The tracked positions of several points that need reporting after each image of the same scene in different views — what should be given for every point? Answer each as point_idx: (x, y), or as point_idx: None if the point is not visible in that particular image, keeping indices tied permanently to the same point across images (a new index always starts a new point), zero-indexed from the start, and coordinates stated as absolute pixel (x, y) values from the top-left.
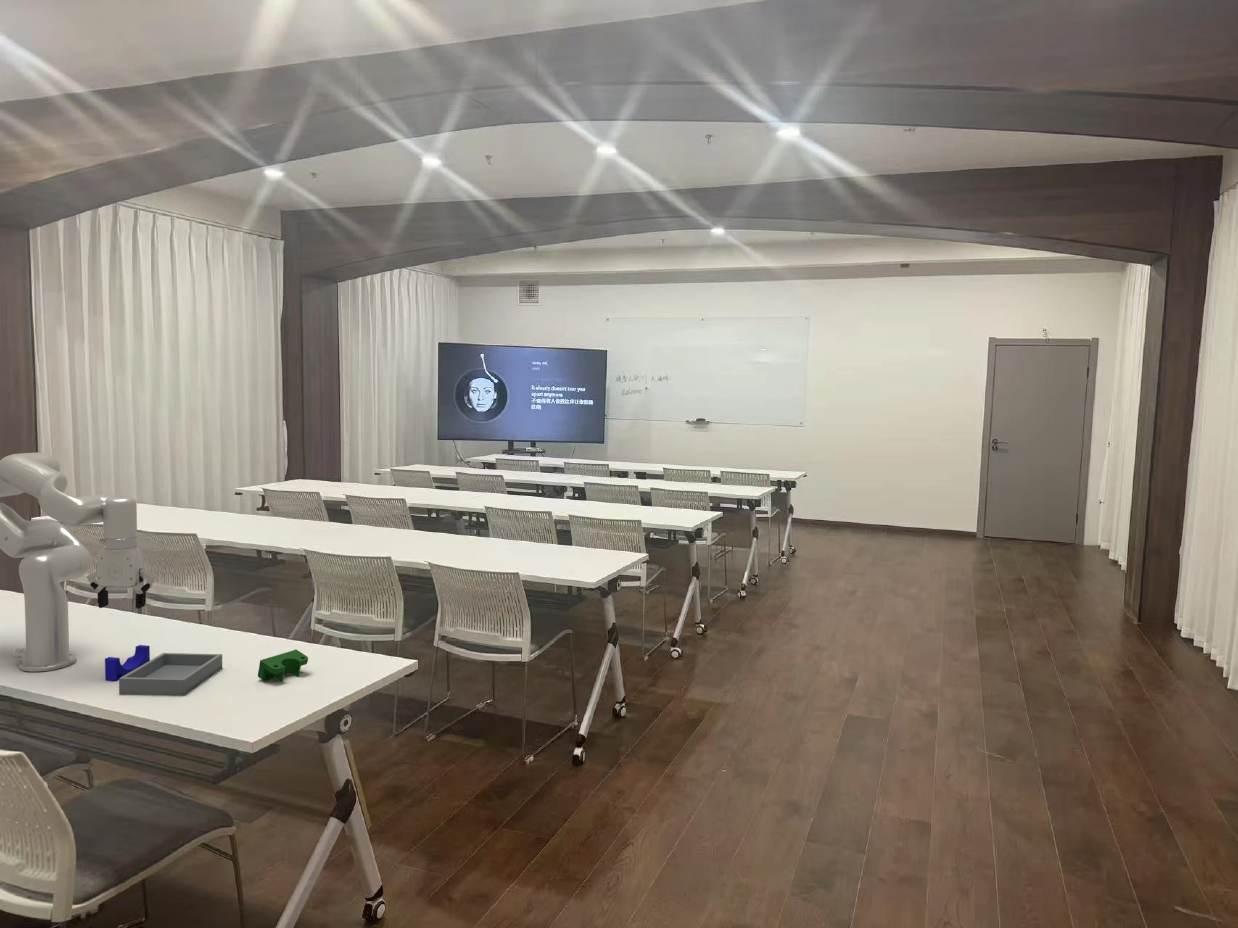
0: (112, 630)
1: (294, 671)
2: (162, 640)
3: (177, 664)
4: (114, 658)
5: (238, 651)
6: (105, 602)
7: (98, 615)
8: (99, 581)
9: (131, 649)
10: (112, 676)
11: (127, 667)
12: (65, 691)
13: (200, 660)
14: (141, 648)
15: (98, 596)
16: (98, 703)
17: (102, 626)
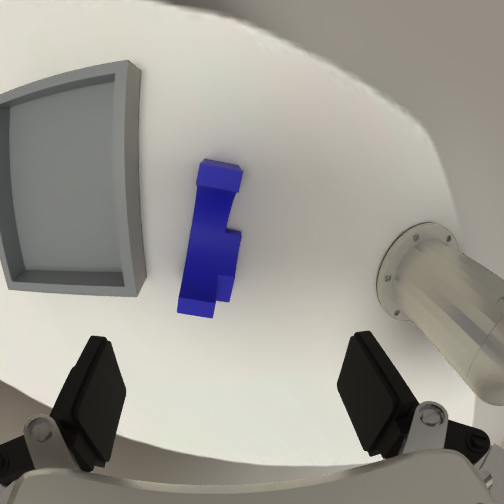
0: None
1: None
2: (261, 416)
3: (102, 272)
4: (210, 176)
5: None
6: (350, 381)
7: None
8: (462, 484)
9: (296, 374)
10: (214, 161)
11: (214, 237)
12: (296, 82)
13: (47, 276)
14: (193, 296)
15: (403, 382)
16: (161, 14)
17: None
